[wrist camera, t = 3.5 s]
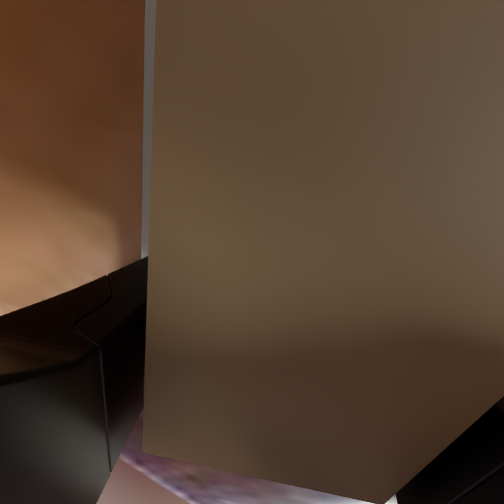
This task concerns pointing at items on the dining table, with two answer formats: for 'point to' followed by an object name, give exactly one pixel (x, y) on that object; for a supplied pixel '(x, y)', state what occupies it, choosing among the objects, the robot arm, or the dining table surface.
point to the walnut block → (324, 236)
